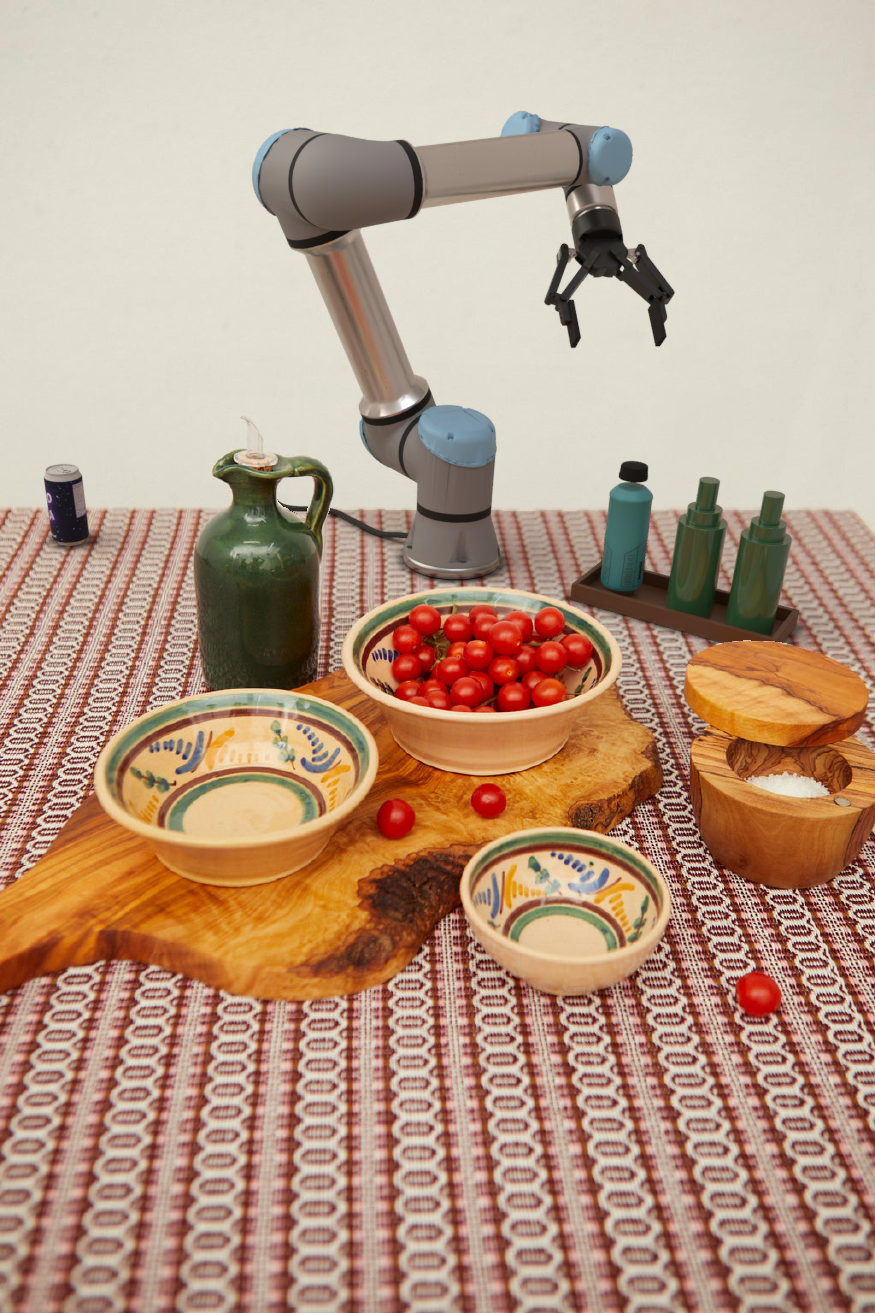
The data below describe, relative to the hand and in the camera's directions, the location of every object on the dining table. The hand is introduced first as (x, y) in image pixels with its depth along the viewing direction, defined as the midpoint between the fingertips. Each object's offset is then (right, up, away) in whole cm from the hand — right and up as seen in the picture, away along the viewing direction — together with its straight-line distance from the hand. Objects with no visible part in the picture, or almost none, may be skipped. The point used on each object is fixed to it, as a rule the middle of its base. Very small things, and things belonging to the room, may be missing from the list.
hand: (618, 342), depth 164 cm
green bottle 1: (+9, -40, -4) cm, 42 cm away
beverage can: (-86, -29, +11) cm, 91 cm away
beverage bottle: (0, -38, +1) cm, 38 cm away
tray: (+9, -41, -4) cm, 42 cm away
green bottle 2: (+17, -43, -9) cm, 47 cm away
